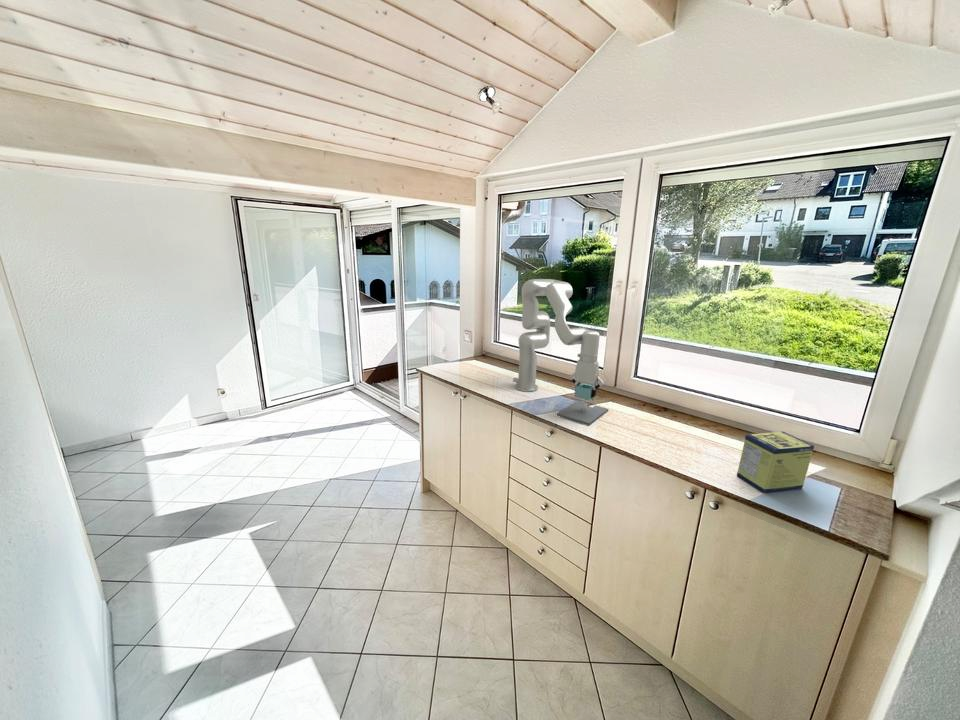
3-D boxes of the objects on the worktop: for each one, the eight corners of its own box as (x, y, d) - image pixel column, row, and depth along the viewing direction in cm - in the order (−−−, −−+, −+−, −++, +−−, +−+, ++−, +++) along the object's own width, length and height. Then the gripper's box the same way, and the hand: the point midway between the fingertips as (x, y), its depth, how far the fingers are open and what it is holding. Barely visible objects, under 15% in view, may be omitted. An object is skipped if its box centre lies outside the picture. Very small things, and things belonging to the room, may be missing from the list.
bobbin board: (556, 415, 173) (557, 403, 171) (577, 402, 189) (578, 391, 188) (589, 425, 163) (590, 412, 162) (608, 411, 180) (609, 399, 178)
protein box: (803, 489, 121) (815, 445, 117) (763, 494, 117) (775, 449, 113) (772, 471, 131) (783, 430, 127) (735, 475, 127) (744, 434, 123)
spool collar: (574, 396, 173) (575, 386, 172) (581, 393, 179) (581, 383, 177) (588, 400, 169) (589, 390, 168) (595, 396, 174) (596, 386, 173)
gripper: (567, 356, 172) (564, 393, 176) (604, 363, 161) (599, 402, 166) (574, 353, 177) (571, 389, 182) (610, 360, 167) (606, 397, 171)
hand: (584, 395), depth 174 cm, fingers closed on spool collar, 7 cm apart
